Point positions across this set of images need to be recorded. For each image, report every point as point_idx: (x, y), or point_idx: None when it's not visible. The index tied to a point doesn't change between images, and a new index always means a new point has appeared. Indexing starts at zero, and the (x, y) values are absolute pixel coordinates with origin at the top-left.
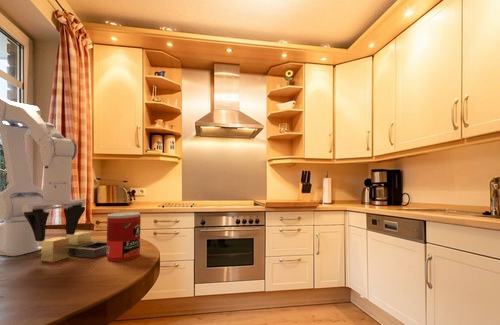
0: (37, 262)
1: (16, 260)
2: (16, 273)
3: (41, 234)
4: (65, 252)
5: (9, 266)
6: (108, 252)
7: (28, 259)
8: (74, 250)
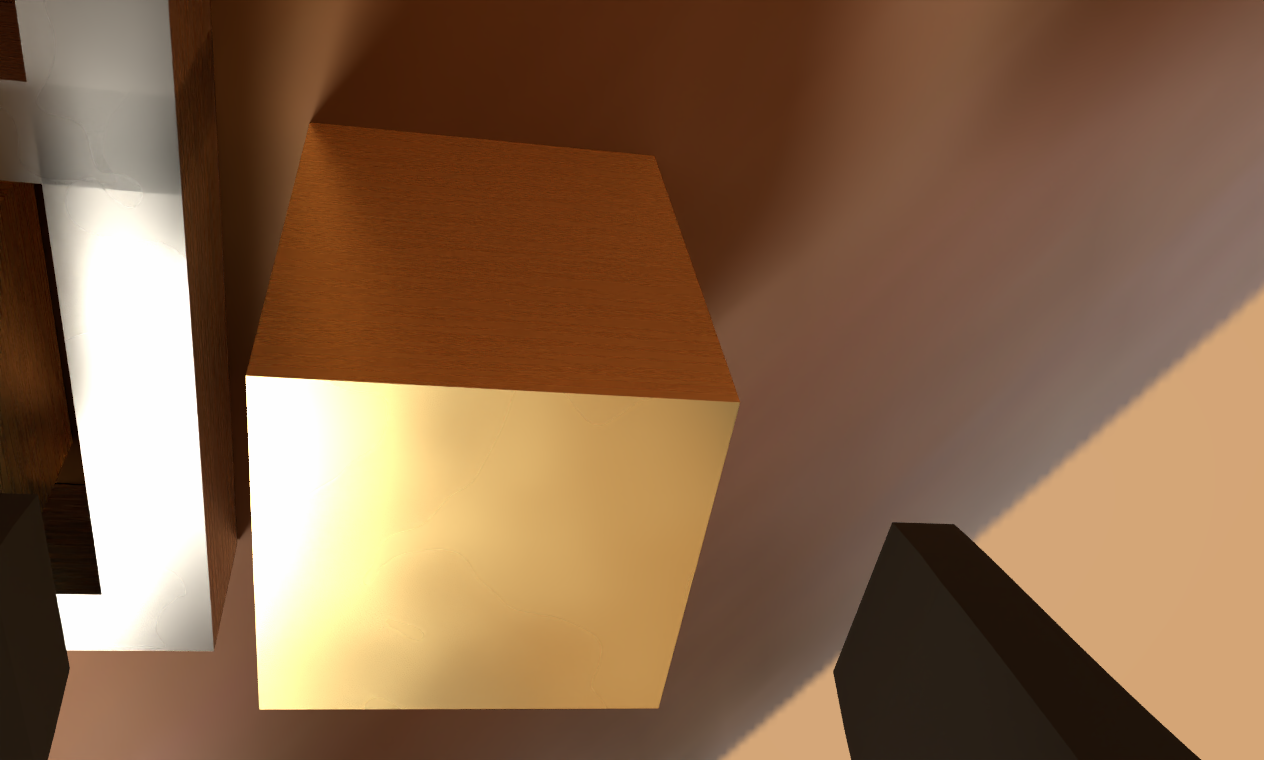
0: None
1: None
2: (1253, 165)
3: (1066, 645)
4: (381, 180)
5: None
6: None
7: None
8: (190, 95)
